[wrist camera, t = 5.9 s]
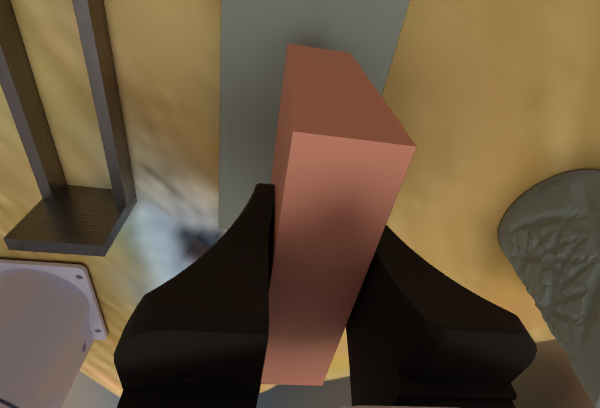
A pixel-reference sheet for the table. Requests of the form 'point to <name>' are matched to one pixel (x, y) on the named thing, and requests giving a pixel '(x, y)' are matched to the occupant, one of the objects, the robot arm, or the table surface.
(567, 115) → the table surface
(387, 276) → the robot arm
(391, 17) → the mat
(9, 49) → the rack
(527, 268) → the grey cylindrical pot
